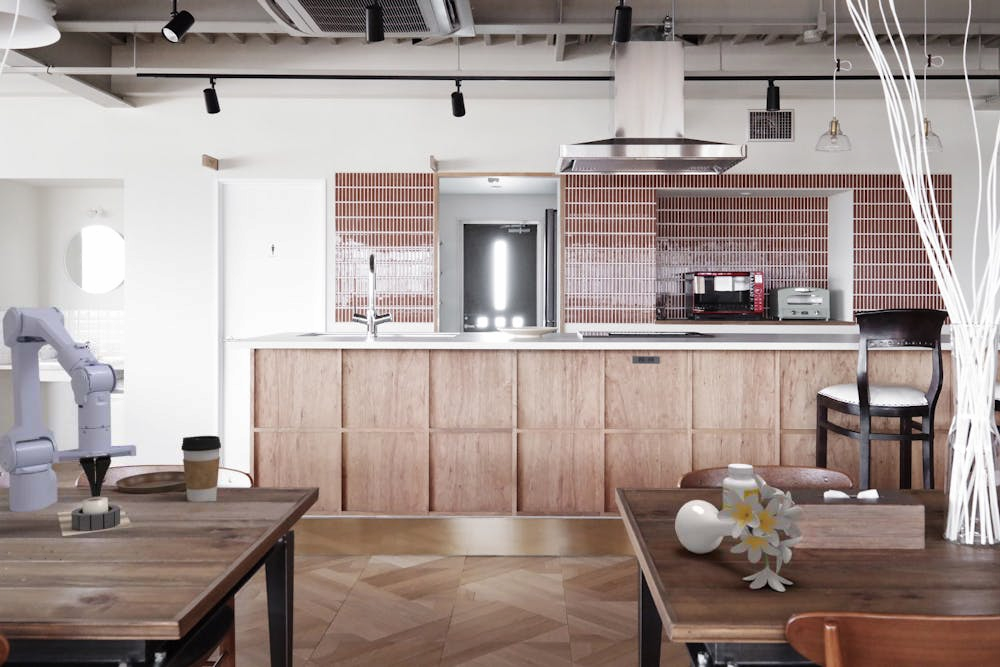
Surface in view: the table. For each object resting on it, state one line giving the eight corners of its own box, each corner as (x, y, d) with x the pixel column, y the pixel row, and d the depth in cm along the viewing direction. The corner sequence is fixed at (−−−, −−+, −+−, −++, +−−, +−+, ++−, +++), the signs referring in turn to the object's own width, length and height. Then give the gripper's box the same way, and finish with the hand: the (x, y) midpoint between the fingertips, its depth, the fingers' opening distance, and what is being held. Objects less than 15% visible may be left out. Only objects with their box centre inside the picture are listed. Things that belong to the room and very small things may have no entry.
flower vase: (678, 591, 139) (771, 602, 117) (647, 489, 142) (732, 480, 119) (735, 569, 144) (835, 575, 122) (704, 470, 147) (797, 458, 124)
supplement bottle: (760, 528, 155) (760, 464, 155) (756, 537, 149) (756, 470, 149) (725, 525, 158) (725, 461, 158) (720, 533, 152) (720, 467, 152)
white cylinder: (90, 522, 157) (89, 497, 156) (112, 521, 157) (111, 496, 156) (78, 528, 152) (78, 502, 152) (101, 527, 152) (100, 502, 152)
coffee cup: (173, 505, 174) (172, 438, 174) (201, 497, 182) (200, 432, 182) (203, 508, 171) (202, 440, 171) (230, 500, 179) (229, 434, 179)
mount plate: (57, 517, 164) (57, 512, 164) (120, 509, 170) (120, 505, 170) (62, 541, 147) (62, 535, 147) (133, 531, 153) (133, 526, 153)
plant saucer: (107, 501, 179) (107, 488, 179) (124, 484, 196) (124, 472, 196) (190, 497, 183) (190, 484, 183) (199, 481, 200) (199, 469, 200)
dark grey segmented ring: (86, 519, 159) (85, 504, 159) (127, 519, 159) (127, 504, 159) (62, 531, 150) (62, 515, 150) (106, 531, 150) (106, 515, 150)
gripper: (53, 432, 147) (54, 504, 147) (137, 426, 154) (138, 494, 155) (51, 427, 153) (52, 497, 153) (133, 422, 160) (134, 488, 161)
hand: (95, 495), depth 154 cm, fingers closed
